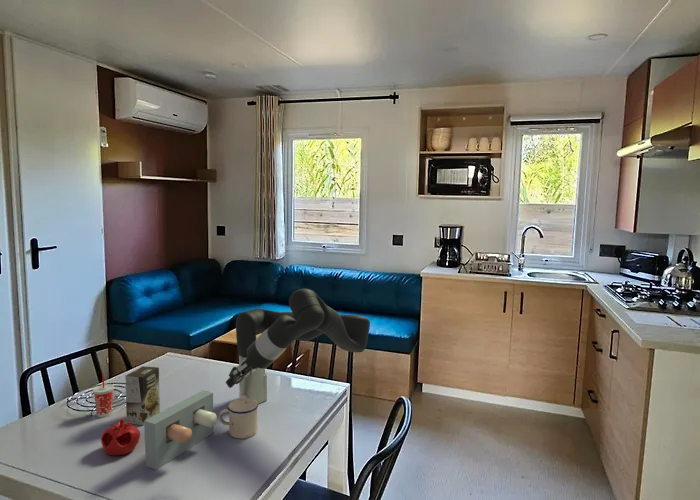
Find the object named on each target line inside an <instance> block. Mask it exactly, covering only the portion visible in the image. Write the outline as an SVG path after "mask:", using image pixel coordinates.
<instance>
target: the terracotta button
mask: <svg viewBox="0 0 700 500" xmlns="http://www.w3.org/2000/svg"><path fill="white" fill-rule="evenodd" d="M191 436H192V430H191V429H190V428H187V427H184V426H180V425H177V424H174V423H172V424H170V425H169V426H167V427H166V438H168V439H171V440H174V441H177V442H180V443H183V444H185V443H187V442H188V441H189V440H190V438H191Z"/></svg>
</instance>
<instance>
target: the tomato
mask: <svg viewBox="0 0 700 500" xmlns="http://www.w3.org/2000/svg"><path fill="white" fill-rule="evenodd" d="M132 420H133V419H132ZM132 420H129V421H132ZM124 421H125V419H124V418H120V419H119V420H118V423H117V424H115V423H112V424H109V425H108V428H106V429H105V430H104V431H103V432H102V435H101V438H100V441H101V445H102V449H103V451H104V453H105V454H106V455H110V456H123V455H127V454H128V453H129V454H130V453H132V452H133V451H134V450H135V449H136V447H137V445H138V444H139V442H140V438H141V430H139V429H138V428H137V427H136V426H135V425H134V424H130V423H128V422H129V421H128V422H127V421H126V422H124ZM110 426H111V427H110Z"/></svg>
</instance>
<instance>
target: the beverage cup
mask: <svg viewBox="0 0 700 500" xmlns="http://www.w3.org/2000/svg"><path fill="white" fill-rule="evenodd" d="M104 376H105V375H104V373H101V377H102V378H101V379H102V381H101V382H102V385H98V386H96V387H94V388H93V390H92V392H93V394H94V395H93V397H94V403H95V411H96V416H97V418H107V417H109V416H111V415H112V414H113V404H114V403H113V398H114V397H113V396H114V395H113V394H114V390H115V389H114V388H115V386H114V385H113V384H105V377H104Z"/></svg>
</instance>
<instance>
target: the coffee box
mask: <svg viewBox="0 0 700 500" xmlns="http://www.w3.org/2000/svg"><path fill="white" fill-rule="evenodd" d="M160 397H161V396H160V368H159V367H158V366H157V367H156V366H144V365H143V366H141V367H139V368H137V369H135V370H134V371H132V372H129V373H128V374H126V375H125V406H126V407H125V411H126V413H125V414H126V423H127V422H128V421H129V420H132V419H133V420H132V421H129V422H128V423H127V424H131V425H138V426H139V425H140V426H144V421H145V420H147V419H148V418H150V417H152V416H154V415H156V414H158V413H160V412H161V404H160V402H161V401H160Z"/></svg>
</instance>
